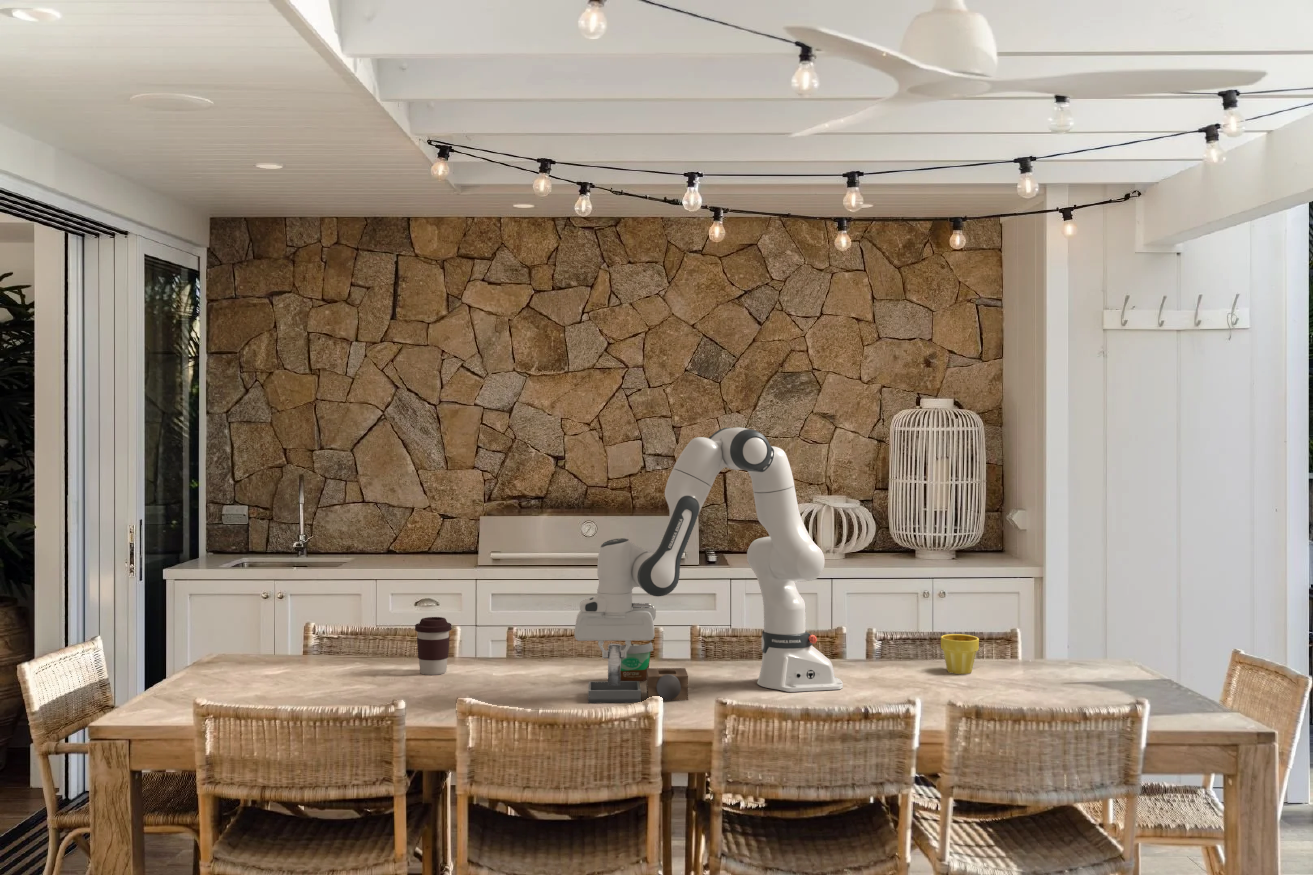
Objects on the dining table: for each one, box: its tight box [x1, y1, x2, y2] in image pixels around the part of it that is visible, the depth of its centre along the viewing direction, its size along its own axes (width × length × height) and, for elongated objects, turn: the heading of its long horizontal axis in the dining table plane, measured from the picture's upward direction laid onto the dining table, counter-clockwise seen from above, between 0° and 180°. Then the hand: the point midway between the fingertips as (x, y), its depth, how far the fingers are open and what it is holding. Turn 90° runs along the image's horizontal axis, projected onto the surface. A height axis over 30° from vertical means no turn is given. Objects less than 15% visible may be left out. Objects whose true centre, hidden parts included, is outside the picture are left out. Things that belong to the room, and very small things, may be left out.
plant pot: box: [940, 633, 980, 675], centre depth 338 cm, size 10×10×10 cm
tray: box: [587, 680, 642, 704], centre depth 304 cm, size 13×11×3 cm
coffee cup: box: [414, 616, 453, 676], centre depth 333 cm, size 10×10×15 cm
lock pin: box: [607, 643, 622, 686], centre depth 303 cm, size 3×3×10 cm
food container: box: [609, 640, 654, 683], centre depth 324 cm, size 12×6×10 cm, turn 105°
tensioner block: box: [646, 667, 689, 701], centre depth 305 cm, size 10×12×6 cm
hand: (614, 657), depth 303 cm, fingers closed on lock pin, 3 cm apart
